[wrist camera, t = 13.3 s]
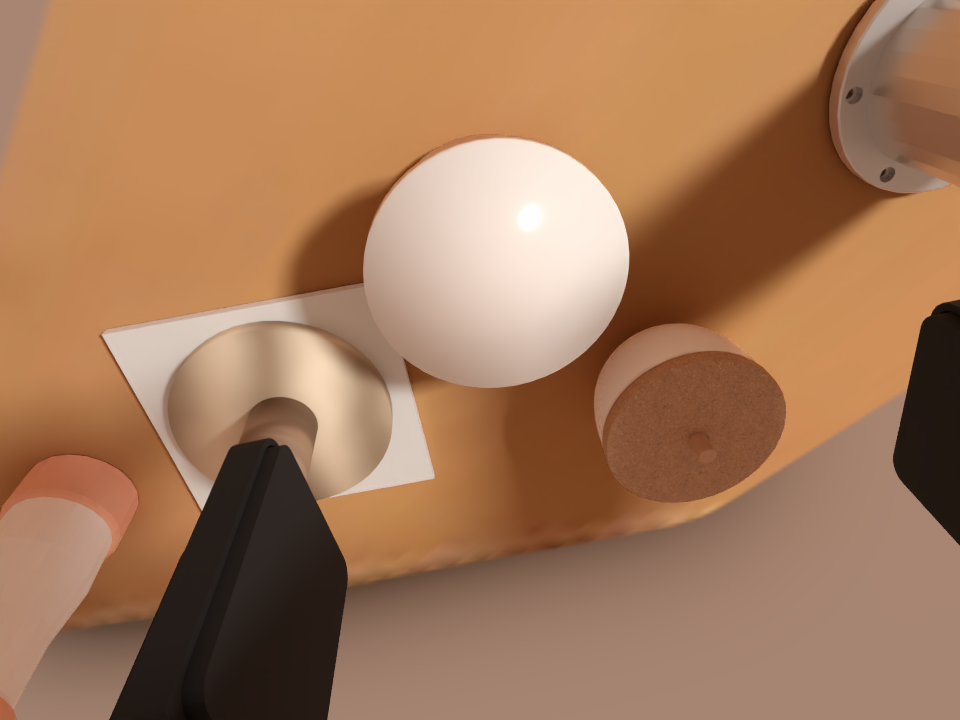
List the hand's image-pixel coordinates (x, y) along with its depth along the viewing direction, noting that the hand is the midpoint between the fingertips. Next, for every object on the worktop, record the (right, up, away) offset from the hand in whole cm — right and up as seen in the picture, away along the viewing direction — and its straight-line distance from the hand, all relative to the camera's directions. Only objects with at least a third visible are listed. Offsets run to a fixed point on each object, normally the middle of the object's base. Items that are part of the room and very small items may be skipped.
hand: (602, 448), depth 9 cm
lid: (-15, -2, +32) cm, 35 cm away
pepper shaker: (-30, -8, +34) cm, 46 cm away
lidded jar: (+10, +1, +33) cm, 35 cm away
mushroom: (-2, +9, +27) cm, 28 cm away
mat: (-15, -2, +32) cm, 35 cm away
